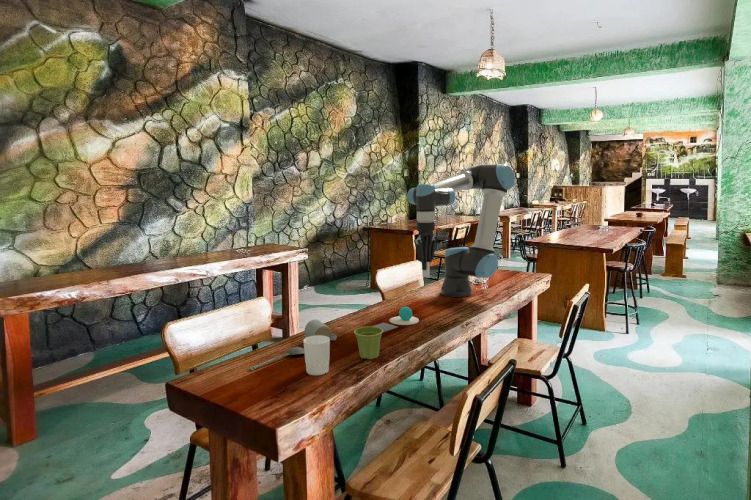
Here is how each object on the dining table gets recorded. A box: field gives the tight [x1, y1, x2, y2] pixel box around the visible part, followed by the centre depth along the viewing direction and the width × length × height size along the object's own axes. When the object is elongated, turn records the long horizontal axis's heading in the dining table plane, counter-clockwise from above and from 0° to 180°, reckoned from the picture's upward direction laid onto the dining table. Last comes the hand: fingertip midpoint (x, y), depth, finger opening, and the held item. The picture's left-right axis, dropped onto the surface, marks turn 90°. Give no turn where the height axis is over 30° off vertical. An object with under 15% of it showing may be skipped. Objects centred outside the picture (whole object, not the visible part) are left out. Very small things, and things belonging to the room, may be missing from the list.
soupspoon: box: [249, 346, 305, 372], centre depth 154 cm, size 22×3×7 cm
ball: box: [398, 306, 413, 320], centre depth 194 cm, size 6×6×6 cm
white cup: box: [302, 335, 331, 376], centre depth 144 cm, size 8×8×10 cm
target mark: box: [388, 315, 420, 326], centre depth 193 cm, size 12×12×1 cm
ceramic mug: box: [303, 319, 338, 342], centre depth 170 cm, size 11×8×8 cm
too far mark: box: [371, 322, 399, 333], centre depth 185 cm, size 8×8×1 cm
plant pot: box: [353, 326, 384, 360], centre depth 155 cm, size 9×9×9 cm
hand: (426, 277), depth 201 cm, fingers closed
